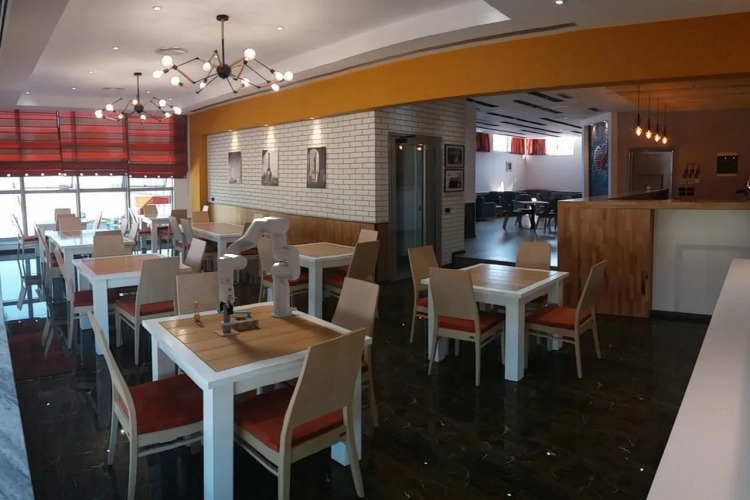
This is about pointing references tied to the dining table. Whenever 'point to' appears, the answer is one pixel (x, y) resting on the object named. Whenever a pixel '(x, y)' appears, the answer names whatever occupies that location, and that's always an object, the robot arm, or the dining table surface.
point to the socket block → (243, 322)
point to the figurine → (196, 316)
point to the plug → (226, 320)
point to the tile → (226, 333)
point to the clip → (234, 312)
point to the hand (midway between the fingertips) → (226, 312)
